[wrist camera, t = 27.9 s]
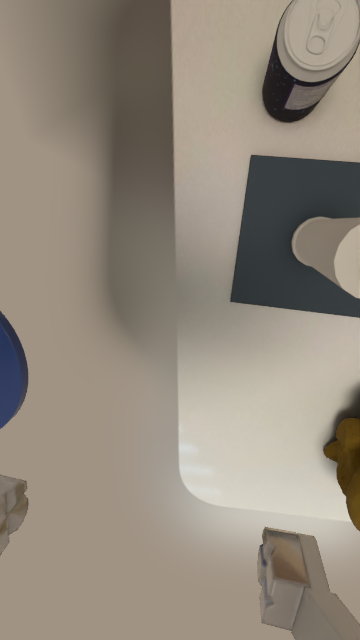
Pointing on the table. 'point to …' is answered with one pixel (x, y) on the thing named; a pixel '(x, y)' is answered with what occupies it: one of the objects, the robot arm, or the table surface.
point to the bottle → (331, 249)
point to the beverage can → (309, 54)
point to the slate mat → (279, 225)
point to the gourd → (348, 464)
